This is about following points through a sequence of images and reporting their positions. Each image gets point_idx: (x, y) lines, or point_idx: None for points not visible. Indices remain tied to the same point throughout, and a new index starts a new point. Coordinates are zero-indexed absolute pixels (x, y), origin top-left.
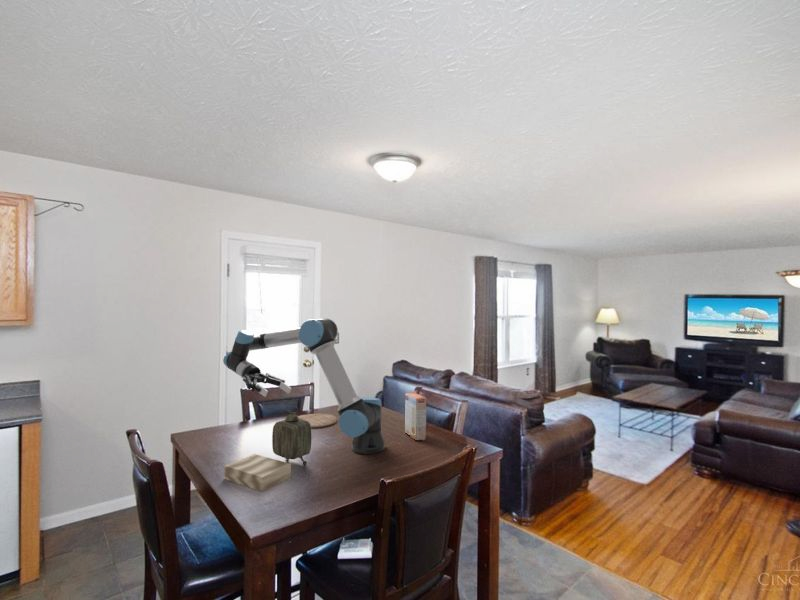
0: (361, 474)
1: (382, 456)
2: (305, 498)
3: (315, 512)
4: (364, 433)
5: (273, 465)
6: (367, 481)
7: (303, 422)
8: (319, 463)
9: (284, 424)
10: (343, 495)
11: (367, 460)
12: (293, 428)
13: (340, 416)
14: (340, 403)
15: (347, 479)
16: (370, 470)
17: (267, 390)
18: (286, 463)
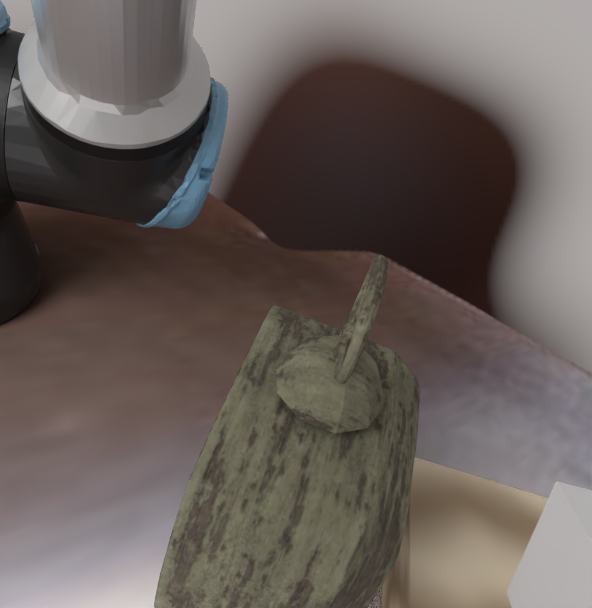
0: (256, 278)
1: (64, 235)
2: (483, 382)
3: (519, 340)
4: (14, 207)
5: (473, 528)
6: (300, 262)
7: (305, 326)
8: (195, 429)
9: (405, 427)
10: (408, 302)
11: (118, 272)
12: (405, 365)
13: (216, 152)
14: (178, 82)
15: (310, 307)
16: (215, 260)
17: (568, 495)
18: (419, 477)
